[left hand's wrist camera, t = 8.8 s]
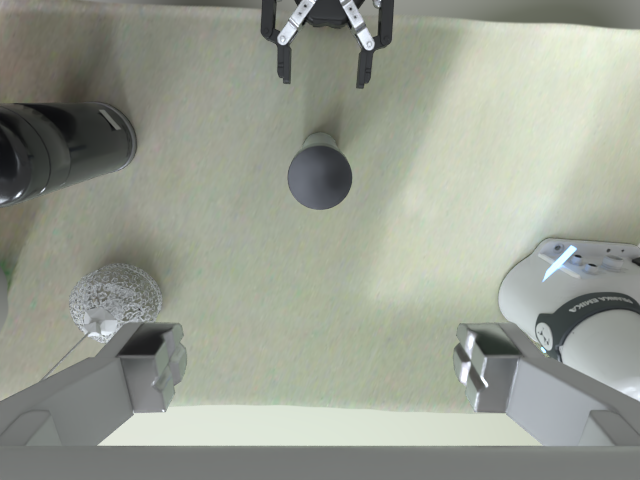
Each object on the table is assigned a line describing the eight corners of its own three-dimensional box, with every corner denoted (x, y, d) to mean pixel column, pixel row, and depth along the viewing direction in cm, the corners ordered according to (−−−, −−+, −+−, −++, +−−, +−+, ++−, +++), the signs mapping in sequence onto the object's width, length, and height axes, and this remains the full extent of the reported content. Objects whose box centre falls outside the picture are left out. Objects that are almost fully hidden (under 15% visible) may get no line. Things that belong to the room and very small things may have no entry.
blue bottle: (339, 134, 50) (350, 153, 32) (335, 169, 52) (343, 206, 34) (304, 130, 50) (295, 147, 32) (300, 165, 52) (290, 201, 34)
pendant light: (74, 265, 57) (-162, 423, 29) (152, 254, 56) (-13, 406, 28) (103, 331, 62) (-77, 524, 34) (175, 323, 61) (52, 511, 33)
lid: (354, 146, 34) (356, 149, 31) (345, 205, 36) (347, 213, 34) (292, 139, 33) (290, 142, 31) (287, 199, 36) (285, 206, 33)
